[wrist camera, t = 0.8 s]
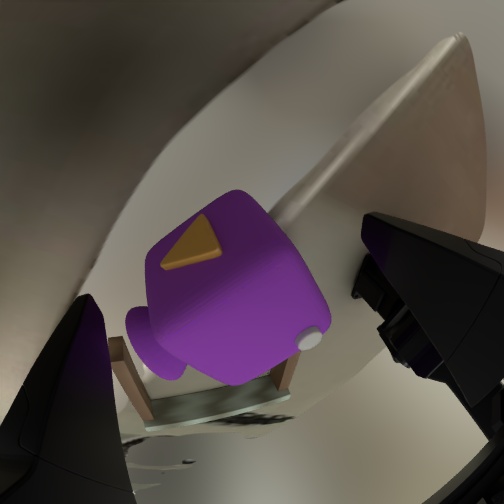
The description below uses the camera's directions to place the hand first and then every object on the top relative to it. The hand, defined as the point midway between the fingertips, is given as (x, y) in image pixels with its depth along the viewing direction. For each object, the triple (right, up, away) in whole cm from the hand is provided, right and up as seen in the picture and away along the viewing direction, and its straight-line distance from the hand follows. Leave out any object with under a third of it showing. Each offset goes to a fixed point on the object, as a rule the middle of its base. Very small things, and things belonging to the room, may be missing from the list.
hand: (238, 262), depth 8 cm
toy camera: (-4, -1, +15) cm, 16 cm away
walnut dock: (-5, -13, +23) cm, 27 cm away
